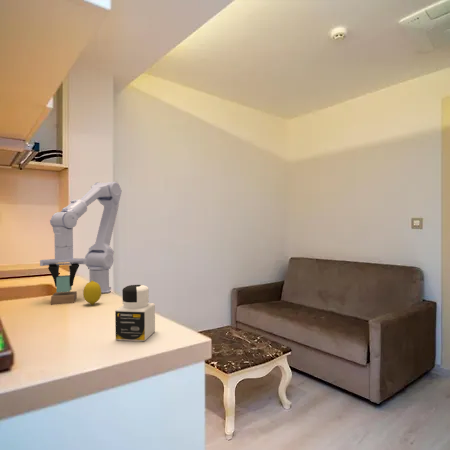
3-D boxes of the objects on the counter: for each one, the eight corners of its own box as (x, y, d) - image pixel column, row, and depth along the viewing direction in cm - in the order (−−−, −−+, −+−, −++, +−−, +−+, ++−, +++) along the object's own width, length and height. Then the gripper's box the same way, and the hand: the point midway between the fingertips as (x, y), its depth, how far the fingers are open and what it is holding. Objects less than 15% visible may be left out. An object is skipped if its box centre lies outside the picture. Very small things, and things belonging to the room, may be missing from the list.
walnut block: (55, 301, 117) (55, 292, 117) (76, 299, 119) (76, 291, 119) (51, 305, 110) (51, 296, 110) (74, 304, 112) (74, 295, 112)
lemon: (97, 306, 107) (97, 282, 107) (80, 306, 107) (80, 282, 107) (103, 302, 113) (103, 279, 113) (87, 302, 113) (87, 279, 113)
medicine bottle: (115, 340, 76) (114, 288, 76) (128, 330, 83) (127, 282, 83) (144, 341, 75) (144, 289, 75) (155, 331, 82) (155, 283, 82)
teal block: (59, 290, 116) (59, 275, 116) (71, 289, 117) (71, 275, 117) (56, 292, 112) (56, 277, 112) (69, 291, 113) (69, 277, 113)
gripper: (37, 248, 109) (37, 289, 109) (84, 246, 113) (85, 286, 113) (43, 246, 116) (43, 285, 116) (87, 245, 119) (88, 283, 120)
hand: (64, 285), depth 115 cm, fingers closed on teal block, 4 cm apart
